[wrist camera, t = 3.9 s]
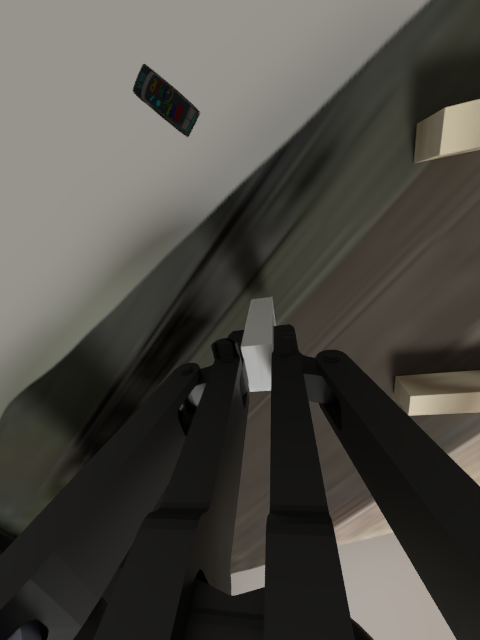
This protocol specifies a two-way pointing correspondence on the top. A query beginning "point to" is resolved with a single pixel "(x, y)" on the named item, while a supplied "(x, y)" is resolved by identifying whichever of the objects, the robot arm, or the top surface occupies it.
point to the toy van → (165, 100)
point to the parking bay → (451, 387)
